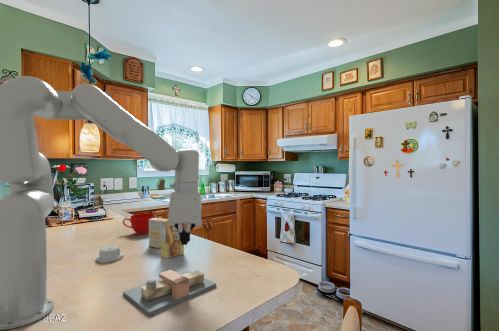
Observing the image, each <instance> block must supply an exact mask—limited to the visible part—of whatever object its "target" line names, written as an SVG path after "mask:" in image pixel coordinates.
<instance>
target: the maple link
mask: <svg viewBox="0 0 499 331" xmlns="http://www.w3.org/2000/svg"><path fill="white" fill-rule="evenodd" d="M183 276H185V277H187V278H189V287H190V286H193V285H196V284H199V283H202V282H204V278H205V273H203V272H202V271H200V270H193V271H191V272H190V273H186V274H183ZM156 280H157V279H149V280H148V279H147V281H146V282H145V284H146V285H145V286H142V287H141V296H142V297H143V298H144V299H145V300H146V301H148V300H151V299H154V298H157V297H160V296H163V295H166V294H169V293H172V285H171V284H170V283H168V282H166V281H164V280H162V281H159V282H156Z"/></svg>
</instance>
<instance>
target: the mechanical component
mask: <svg viewBox="0 0 499 331" xmlns="http://www.w3.org/2000/svg"><path fill="white" fill-rule="evenodd" d="M98 251H99V253H98V255H97V256H95V261H96V262H97V263H103V264H104V263H113V262H116V261H119V260H121V259H123V258H124V253H123V251H122V252H121V246H118V245H110V246H105V247H102V248H100V249H99V250H98Z"/></svg>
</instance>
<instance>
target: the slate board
mask: <svg viewBox="0 0 499 331" xmlns="http://www.w3.org/2000/svg"><path fill="white" fill-rule="evenodd" d="M190 272H192V271H190V270H189V269H185V270H183V271H180V272H178V273H179V274H181V275H183V274H186V273H190ZM155 280H156V282H159V281H162V280H163V279H161V278H159V279H155ZM145 285H146V283H144V284H141V285H139V286H135V287H133V288H130V289H128V290H127V289H126V290H123V292H122V295H123V297H125V298H126V299H127V300H128V301H130V302H132V304H133V305H134V306H136V307H137V308H138V309H140V310H141V311H142V312H144V313H145V314H146V315H147V316H148V317H150V316H154V315H155V314H158V313H160V312H162V311H163V310H166V309H167V310H168V309H169V308H171V307H173V306H176V305H178V304H181V303H182V302H185V301H186V300H189V299H191V298H194V297H196V296H199V295H201V294H202V293H205V292H207V291H210V290H211V289H213V288H217V282H215V281H212V280H210V279H207V278H206V277H204V282H202V283H199V284H196V285H193V286H190V287H189V295H187V296H184V297H182V298H180V299H177V300H176V299H175V298H173V297H172V293H169V294H166V295H163V296H160V297H157V298H154V299H151V300H148V301H146V300H145V299H144V298H143V297H142V296H141V287H142V286H145Z"/></svg>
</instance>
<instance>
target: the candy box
mask: <svg viewBox="0 0 499 331" xmlns="http://www.w3.org/2000/svg"><path fill="white" fill-rule="evenodd" d="M168 223H169V221H168V220H162V221H161V249H160V251H161V253H160V257H162V258H163V259H170V258H173V257H177V256H179V255H180V256H181V255H183V254H185V245H181V242H180V232H179V230H178V229H177V228H176V227H174V226H170V225H168Z"/></svg>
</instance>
